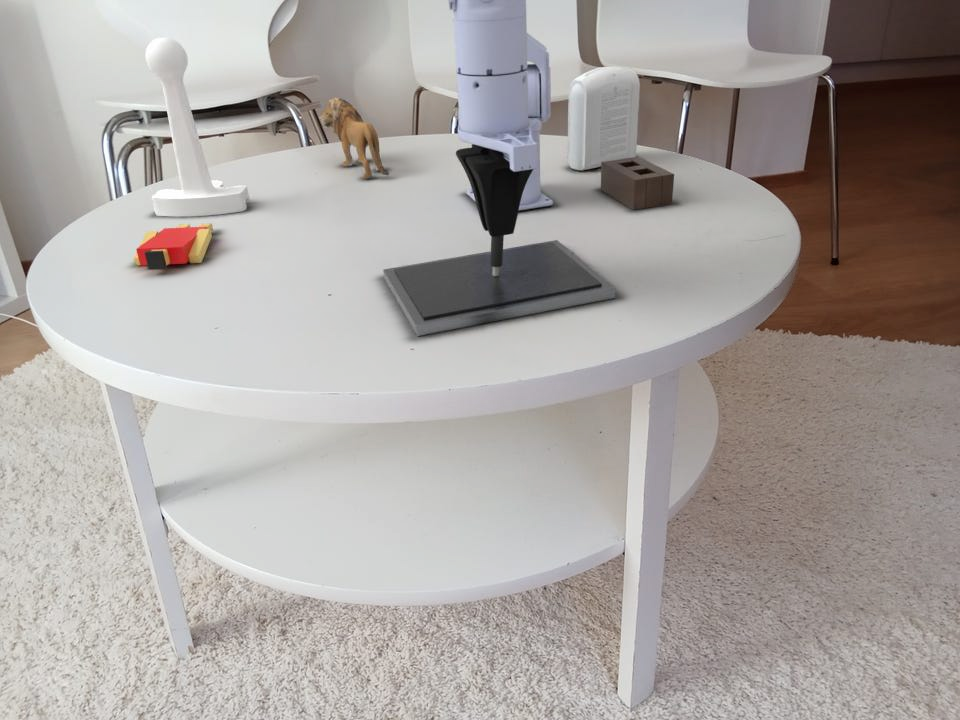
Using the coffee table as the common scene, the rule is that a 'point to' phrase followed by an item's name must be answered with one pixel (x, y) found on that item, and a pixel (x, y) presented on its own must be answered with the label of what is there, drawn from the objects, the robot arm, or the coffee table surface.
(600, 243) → the coffee table surface
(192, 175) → the joystick
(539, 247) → the tablet
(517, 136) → the robot arm
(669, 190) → the holder
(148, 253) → the toy figure
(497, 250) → the stylus
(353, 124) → the lion figurine
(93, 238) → the coffee table surface
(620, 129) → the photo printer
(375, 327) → the coffee table surface
